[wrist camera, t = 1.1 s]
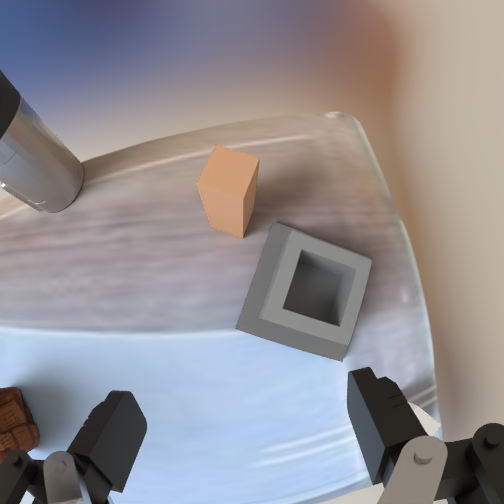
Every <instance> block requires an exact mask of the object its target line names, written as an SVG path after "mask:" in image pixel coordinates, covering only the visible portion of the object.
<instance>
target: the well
mask: <svg viewBox="0 0 504 504" xmlns="http://www.w3.org/2000/svg"><path fill="white" fill-rule="evenodd" d="M371 264H372V258H371V257H369V256H366V255H364V254H361V253H358V252H356V251H353V250H350V249H348V248H345V247H343V246H340V245H337V244H335V243H332V242H329V241H327V240H324V239H321V238H318V237H316V236H313V235H310V234H307V233H305V232H302V231H299V230H296V229H294V228H291V227H288V226H285V225H282V224H279V223H277V222H274V221H273V224H272V226H271V229H270V232H269V235H268V238H267V241H266V244H265V246H264V249H263V252H262V255H261V258H260V261H259V264H258V266H257V269H256V272H255V275H254V278H253V281H252V283H251V286H250V289H249V292H248V295H247V297H246V300H245V303H244V306H243V309H242V311H241V314H240V317H239V320H238V323H237V325H236V328H235V329H238V330H241V331H243V332H246V333H249V334H252V335H255V336H258V337H261V338H264V339H267V340H270V341H273V342H276V343H280V344H283V345H286V346H289V347H292V348H296V349H299V350H302V351H306V352H309V353H313V354H316V355H320V356H323V357H327V358H330V359H334V360H338V361H341V362H342V361H343V359H344V356H345V353H346V350H347V347H348V346H349V343H350V340H351V336H352V333H353V330H354V327H355V324H356V320H357V317H358V313H359V310H360V307H361V303H362V299H363V296H364V292H365V288H366V284H367V280H368V276H369V272H370V268H371Z"/></svg>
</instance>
